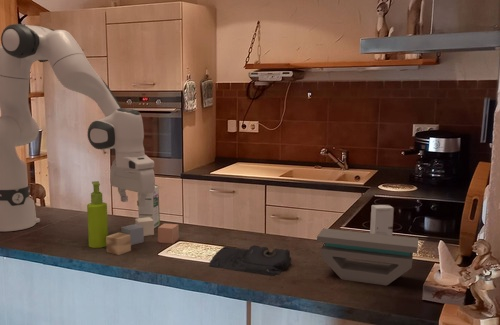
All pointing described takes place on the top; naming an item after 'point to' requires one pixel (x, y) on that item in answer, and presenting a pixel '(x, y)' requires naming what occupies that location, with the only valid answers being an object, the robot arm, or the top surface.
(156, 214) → the syrup box
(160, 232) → the terracotta cube
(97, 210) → the soap dispenser
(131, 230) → the slate-blue cube
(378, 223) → the skincare box
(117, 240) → the oak cube
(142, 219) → the cream cube
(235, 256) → the crumpled black cloth
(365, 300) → the top surface
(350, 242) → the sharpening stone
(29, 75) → the robot arm
